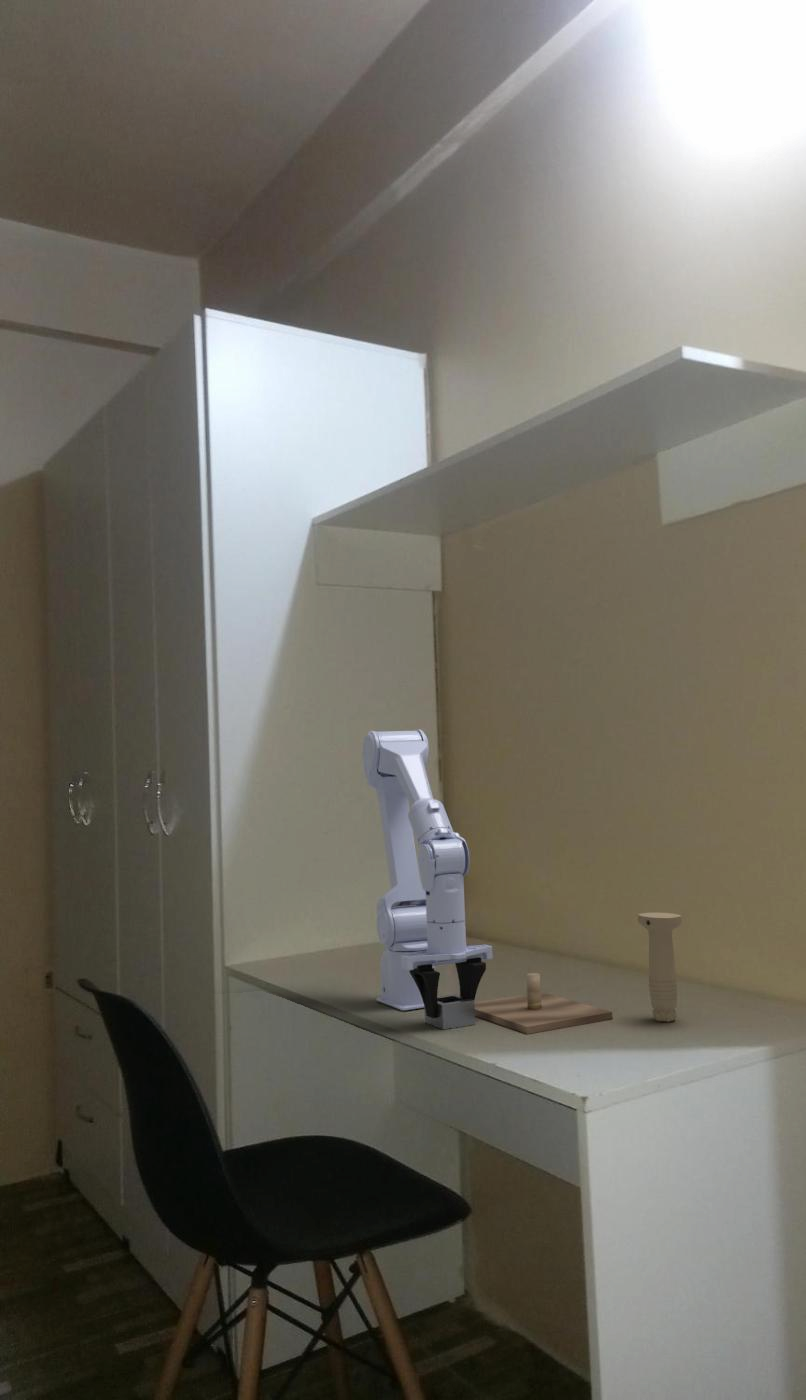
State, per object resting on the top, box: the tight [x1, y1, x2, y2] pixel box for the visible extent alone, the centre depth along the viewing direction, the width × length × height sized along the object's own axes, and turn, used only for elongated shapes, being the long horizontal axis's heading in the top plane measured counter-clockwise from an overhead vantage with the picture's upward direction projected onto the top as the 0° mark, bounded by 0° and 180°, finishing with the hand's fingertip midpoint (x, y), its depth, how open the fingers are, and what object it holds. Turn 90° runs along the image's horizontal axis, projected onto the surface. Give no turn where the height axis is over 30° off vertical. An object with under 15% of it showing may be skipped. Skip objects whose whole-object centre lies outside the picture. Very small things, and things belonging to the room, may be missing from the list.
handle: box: [637, 911, 683, 1023], centre depth 162 cm, size 5×6×15 cm
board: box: [474, 972, 613, 1035], centre depth 168 cm, size 18×15×6 cm
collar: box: [423, 993, 476, 1030], centre depth 164 cm, size 5×5×4 cm
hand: (449, 1013), depth 164 cm, fingers closed on collar, 5 cm apart
